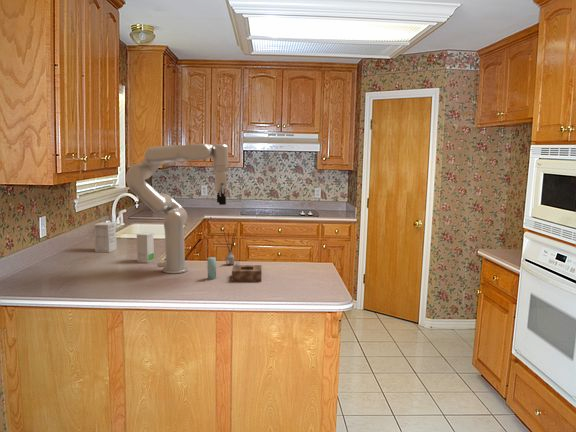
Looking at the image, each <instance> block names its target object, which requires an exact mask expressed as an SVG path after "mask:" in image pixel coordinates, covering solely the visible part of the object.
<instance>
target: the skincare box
mask: <svg viewBox="0 0 576 432" xmlns="http://www.w3.org/2000/svg"><path fill="white" fill-rule="evenodd" d="M154 241H155V240H154V232H140V233H137V234H136V251H137V254H136V255H137V257H136V258H137V263H142V264H143V263H144V264H148V263H150V262H153V261H155V250H154V249H155V247H154V245H155V244H154V243H155V242H154Z"/></svg>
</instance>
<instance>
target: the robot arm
mask: <svg viewBox="0 0 576 432" xmlns="http://www.w3.org/2000/svg"><path fill="white" fill-rule="evenodd" d="M208 159H209V160H210V159H212V161H213V162H212V163H213V165H212V169H213V170H212V172H213V173H214V174H215V175H214V192H216V203H218V204H219V206H223V205H226V204H227V201H226V200H227V196H226V193H227V173H229V146H228V145H227V144H224V143H223V144H220V143H216V144H209V143H195V144H186V145H185V144H183V145H182V144H181V145H180V144H172V145H171V144H170V145H162V146H161V145H160V146H151V147H148V148H147V149H146V151H144V158H143V159H142V161H141V162H140V163H135V164H132V165H131V166H130V167H129V168H128V169H127V172H126V175H125V181H126V184H127V187H128V188H129V191H131V192H132V193H133V194H134V195H135V196H136V197H137V198H138V199H140V201H142V202H143V204H144V205H146V206H147V207H148V208H149V209H150V210H151V211H152V212H153V213H155V214H162V215H164V217H163V228H164V240H165V241H164V243H165V245H164V247H165V261H164V262H157V264H156V266H157V267H158V268H162V272H163V273H166V274H182V273H186V272H188V271H189V268H188V266H186V257H185V254H186V253H185V252H186V251H185V250H186V249H185V248H186V246H185V229H184V228H185V227H184V224H185V223H187V221H188V213H187V210H186V209H185V208H184V207H183V206H181V204H180V203H178V202H177V200H175V199H174V198H173V197H172V196H171V195H168V194H167V193H164V192H163V193H162V192H161V193H159V192H158V191H157V190H156V189H155V188H154V187H153V186H151V184H149V183H148V182H147V181H146V180H148V179H150V178H151V177H152V176H153V174H154V173H155V172H156V171H157V170H158V169H159V168H160V166H161V165H162V164H171V163H172V164H173V163H181V162H187V161H198V160H208Z"/></svg>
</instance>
